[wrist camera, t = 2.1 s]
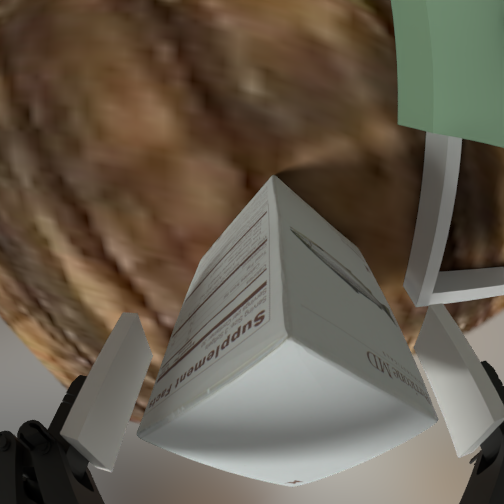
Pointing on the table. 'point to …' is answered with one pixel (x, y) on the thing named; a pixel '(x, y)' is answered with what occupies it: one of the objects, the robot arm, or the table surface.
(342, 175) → the table surface
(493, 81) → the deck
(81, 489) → the robot arm
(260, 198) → the supplement box
